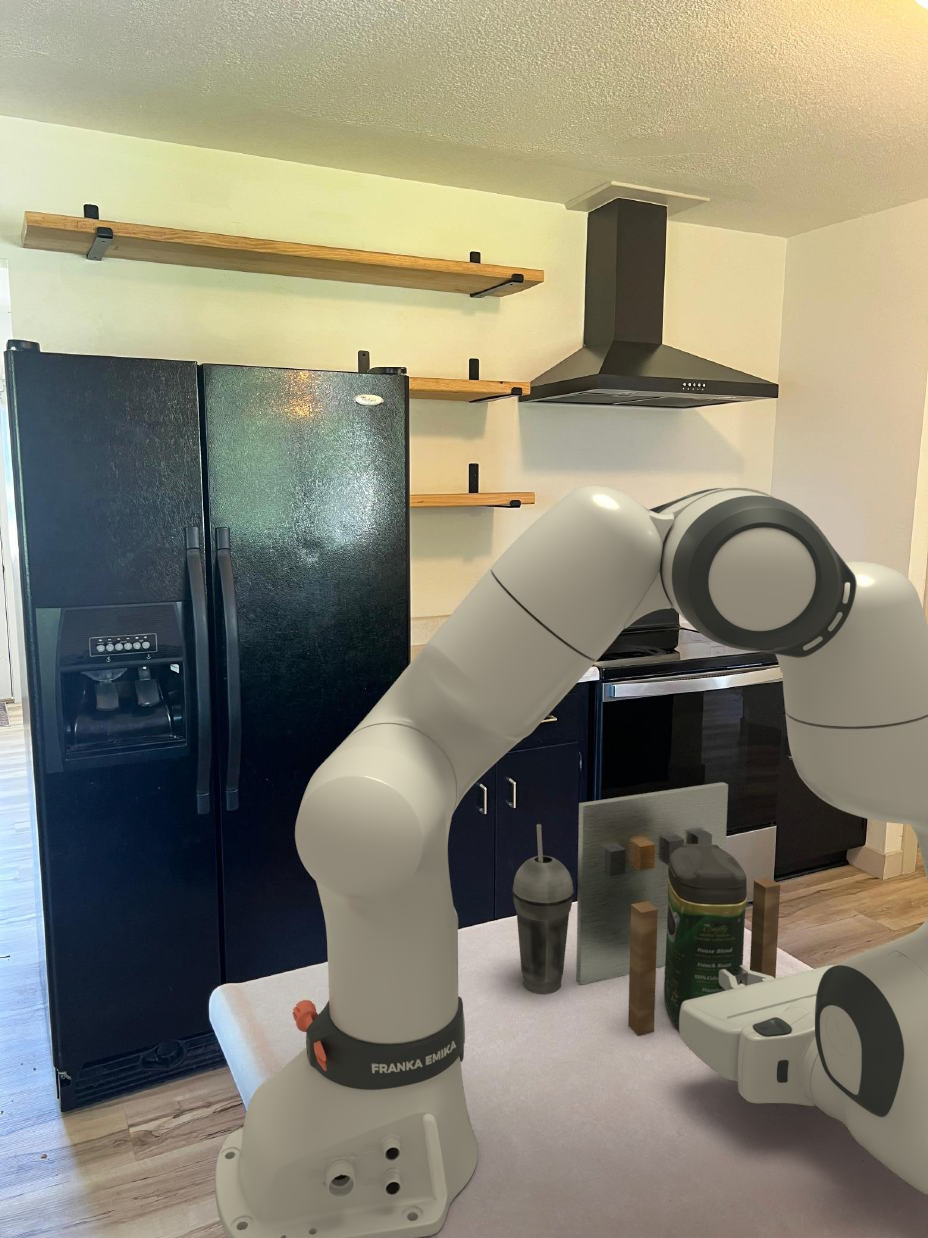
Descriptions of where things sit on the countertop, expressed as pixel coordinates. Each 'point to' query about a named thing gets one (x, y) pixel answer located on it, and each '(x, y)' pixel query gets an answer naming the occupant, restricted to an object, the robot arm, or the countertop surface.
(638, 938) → the gate
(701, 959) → the coffee jar
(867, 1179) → the countertop surface
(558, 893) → the beverage cup
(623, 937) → the breaker panel
